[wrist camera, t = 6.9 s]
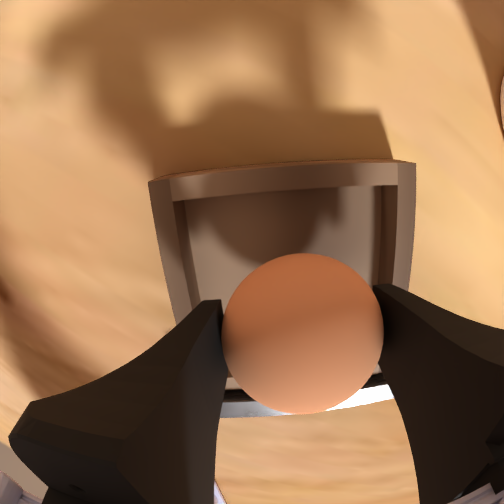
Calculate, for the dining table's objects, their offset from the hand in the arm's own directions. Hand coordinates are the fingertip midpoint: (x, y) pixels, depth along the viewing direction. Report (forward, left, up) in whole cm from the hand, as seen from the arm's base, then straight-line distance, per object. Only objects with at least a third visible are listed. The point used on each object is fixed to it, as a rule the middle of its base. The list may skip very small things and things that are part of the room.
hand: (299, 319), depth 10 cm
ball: (0, 0, -2) cm, 2 cm away
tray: (0, 0, -4) cm, 4 cm away
